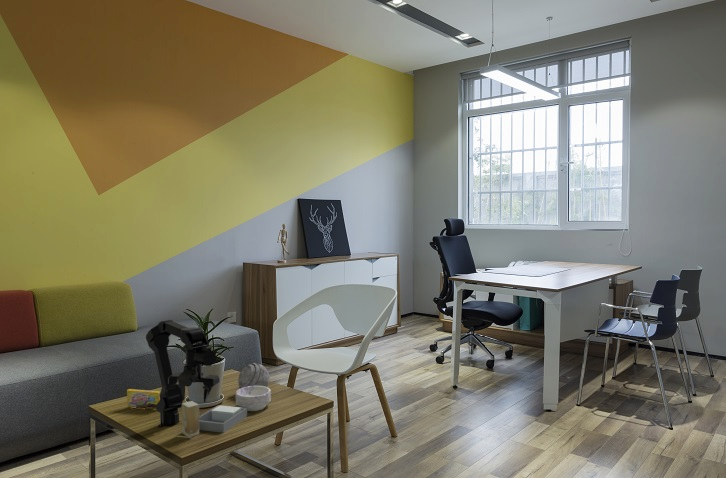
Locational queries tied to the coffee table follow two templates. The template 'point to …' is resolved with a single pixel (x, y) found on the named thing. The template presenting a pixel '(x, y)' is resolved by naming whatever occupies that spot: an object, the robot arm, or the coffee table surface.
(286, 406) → the coffee table surface
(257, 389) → the paper bowls
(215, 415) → the white rectangular block
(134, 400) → the candy box
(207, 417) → the tote
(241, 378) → the decorative orb
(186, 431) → the skincare box
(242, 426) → the coffee table surface
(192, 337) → the robot arm
